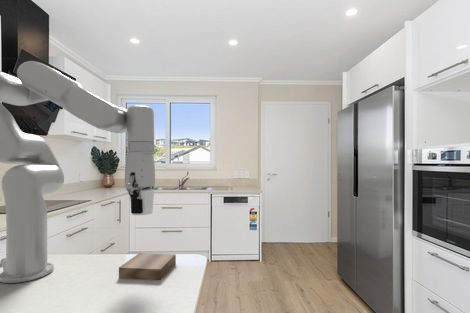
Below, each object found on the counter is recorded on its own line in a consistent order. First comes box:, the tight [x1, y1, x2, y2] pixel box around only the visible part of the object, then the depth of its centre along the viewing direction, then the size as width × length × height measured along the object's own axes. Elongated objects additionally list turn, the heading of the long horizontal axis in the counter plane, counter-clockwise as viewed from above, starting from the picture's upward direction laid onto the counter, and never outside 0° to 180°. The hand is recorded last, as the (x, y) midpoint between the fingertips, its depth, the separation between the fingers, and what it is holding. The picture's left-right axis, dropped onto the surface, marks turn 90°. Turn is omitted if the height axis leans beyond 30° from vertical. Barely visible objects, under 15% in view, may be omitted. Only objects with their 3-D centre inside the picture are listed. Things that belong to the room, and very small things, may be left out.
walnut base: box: [118, 252, 177, 281], centre depth 82 cm, size 12×12×3 cm
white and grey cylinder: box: [131, 188, 155, 216], centre depth 80 cm, size 7×7×7 cm
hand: (142, 210), depth 80 cm, fingers closed on white and grey cylinder, 5 cm apart
